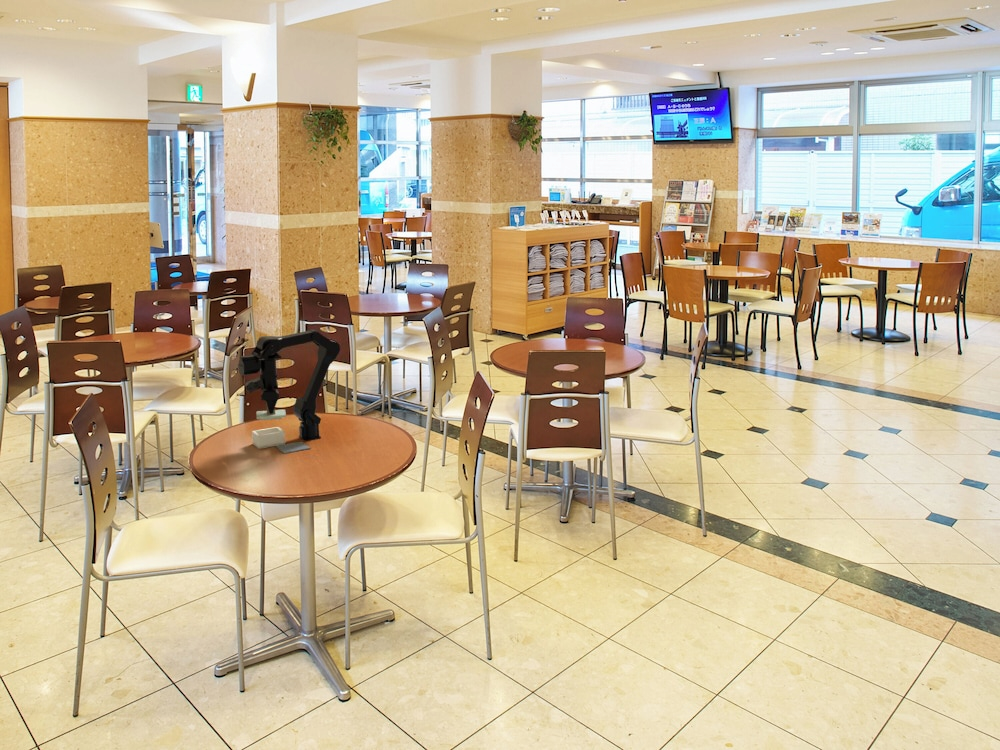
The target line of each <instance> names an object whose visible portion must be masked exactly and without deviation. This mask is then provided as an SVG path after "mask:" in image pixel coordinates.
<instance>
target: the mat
mask: <svg viewBox="0 0 1000 750" xmlns="http://www.w3.org/2000/svg"><path fill="white" fill-rule="evenodd" d="M275 448H276V449H278V450H279V451H280V452H281V453H283V454H284V455H285V454H291V453H295V452H300V451H306V450H311V447H310V446H308V444H306V443H305V442H303V441H297V442H291V443H285V444H284V445H279V446H275Z"/></svg>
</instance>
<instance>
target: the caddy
mask: <svg viewBox="0 0 1000 750" xmlns="http://www.w3.org/2000/svg"><path fill="white" fill-rule="evenodd" d="M251 434H252V435H251V436H252V445H254V446H255V447H256V448H257V449H258V450H260V449H267V448H272V447H276V446H279V445H285V444H286V435H285V431H284V430H283V429H282V428H281V427H279V426H274V427H268V428H263V429H256V430H251Z"/></svg>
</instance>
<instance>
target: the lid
mask: <svg viewBox="0 0 1000 750" xmlns="http://www.w3.org/2000/svg"><path fill="white" fill-rule="evenodd" d="M265 404H266V410H258V411H256V413H255V414H256V420H260V421H269V420H270V421H272V420H282V419H283V418H287V413H286V409H276V407H275V408H274V411H273V413H272V414H270V413H269V409H268V406H267V402H266V401H265Z"/></svg>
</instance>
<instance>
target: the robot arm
mask: <svg viewBox="0 0 1000 750" xmlns="http://www.w3.org/2000/svg"><path fill="white" fill-rule="evenodd" d="M312 342H313V344H314V345H316V346H317V347H318V349H317V361H316V363H315V367H314V368H313V369H314V370H313V372H312V374H311V377H310V379H309V381H308V384H307V387H306V389H305V391H304V393H303V395H302V396H301V398H300V397H296V398H295V402H294V405H293V406H292V408H293V414H294V416H295V418H296V417H297V419H298V421H300V422H299V425H300V426H298V431H299V432H298V433H299V436H298V437H299V438H300V439H302V440H303V441H305V442H308V441H312V440H317V439H322V437H321V436H320V424H321V421H322V418H320V416H318V415H317V414H316V410H317V398H318V395H319V393H320V390H321V388H322V386H323V383H324V381H325V377H326V375H327V373H328V370H329V368H330V366H331V364H333V362H334V361H335V360H336V359H337V358H338V355H339V354H340V352H341V346H340V344H339V342H337V341H334V340H332V339H330V338H328V337H326V336H324V335H323V334H322V333H320V331H317V330H316V329H315V330H314V329H308V330H305V331H301V332H296V333H291V334H287V335H282V336H272V335H266V336H261V337H259V338H258V340H257V342H256V346H255V347H254V348H253V350H252V352H251V354H250V355H241V356H240V357H239V361H238V365H237V369H238V372H239V374H240V376H248V375H253V374H255V375H256V374H258V373H259V372H260V374H259V377H257V378H253V379H251V380H248V381H246V382H245V383H244V386H245V388H246V391H247V393H248V394H251V393H253V392H255V391H257V390H259V389H260V390H261V393H260V398H261V401H264V402H265V403H266V402H267V406H268V409H269V413H270V414H272V413H273V411H274V408H275V409H276V405H277V403H278V400H280V393H279V390H277V389H279V383H278V374H277V360H279V359H282V358H283V357H282V356H281V355H280V354H279V353H278V352H281V351H282V350H283V349H285V348H289V347H290V348H291V347H294V346H298V345H304V344H308V343H312Z"/></svg>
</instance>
